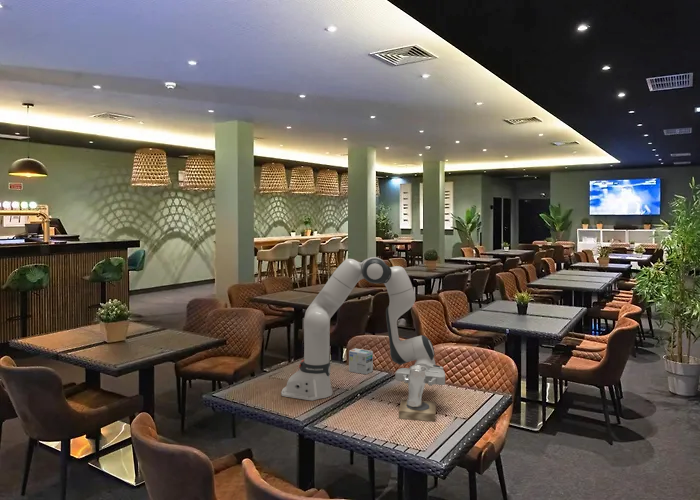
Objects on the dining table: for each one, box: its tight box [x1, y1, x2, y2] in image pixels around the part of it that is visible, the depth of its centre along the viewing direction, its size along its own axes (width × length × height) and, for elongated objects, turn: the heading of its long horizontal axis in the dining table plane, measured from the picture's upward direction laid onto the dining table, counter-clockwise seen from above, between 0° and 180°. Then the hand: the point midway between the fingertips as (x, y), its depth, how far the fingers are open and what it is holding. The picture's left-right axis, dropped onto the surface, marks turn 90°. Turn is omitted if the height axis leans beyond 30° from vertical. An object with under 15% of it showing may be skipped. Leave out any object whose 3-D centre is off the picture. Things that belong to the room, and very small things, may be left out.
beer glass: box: [406, 364, 426, 407], centre depth 204 cm, size 7×7×15 cm
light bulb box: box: [348, 347, 374, 375], centre depth 258 cm, size 11×7×11 cm, turn 57°
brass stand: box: [398, 398, 437, 422], centre depth 204 cm, size 14×13×3 cm
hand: (418, 382), depth 203 cm, fingers open, 8 cm apart
